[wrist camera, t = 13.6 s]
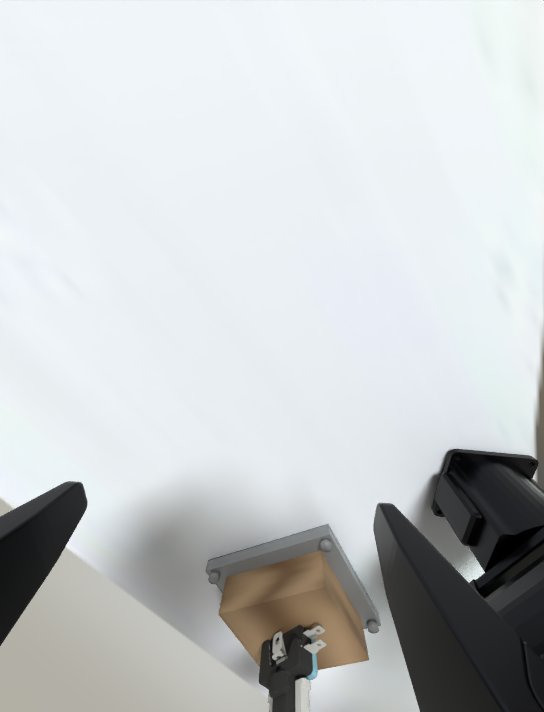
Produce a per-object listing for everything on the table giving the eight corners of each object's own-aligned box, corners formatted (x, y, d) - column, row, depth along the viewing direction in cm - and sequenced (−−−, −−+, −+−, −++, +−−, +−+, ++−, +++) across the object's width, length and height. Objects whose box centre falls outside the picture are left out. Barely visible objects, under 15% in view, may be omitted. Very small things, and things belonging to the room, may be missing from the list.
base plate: (328, 524, 25) (330, 540, 24) (378, 613, 28) (382, 632, 27) (208, 560, 28) (203, 577, 26) (266, 638, 31) (265, 657, 29)
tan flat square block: (320, 550, 25) (324, 587, 22) (361, 619, 27) (369, 660, 24) (226, 577, 27) (218, 614, 24) (271, 639, 29) (269, 679, 26)
